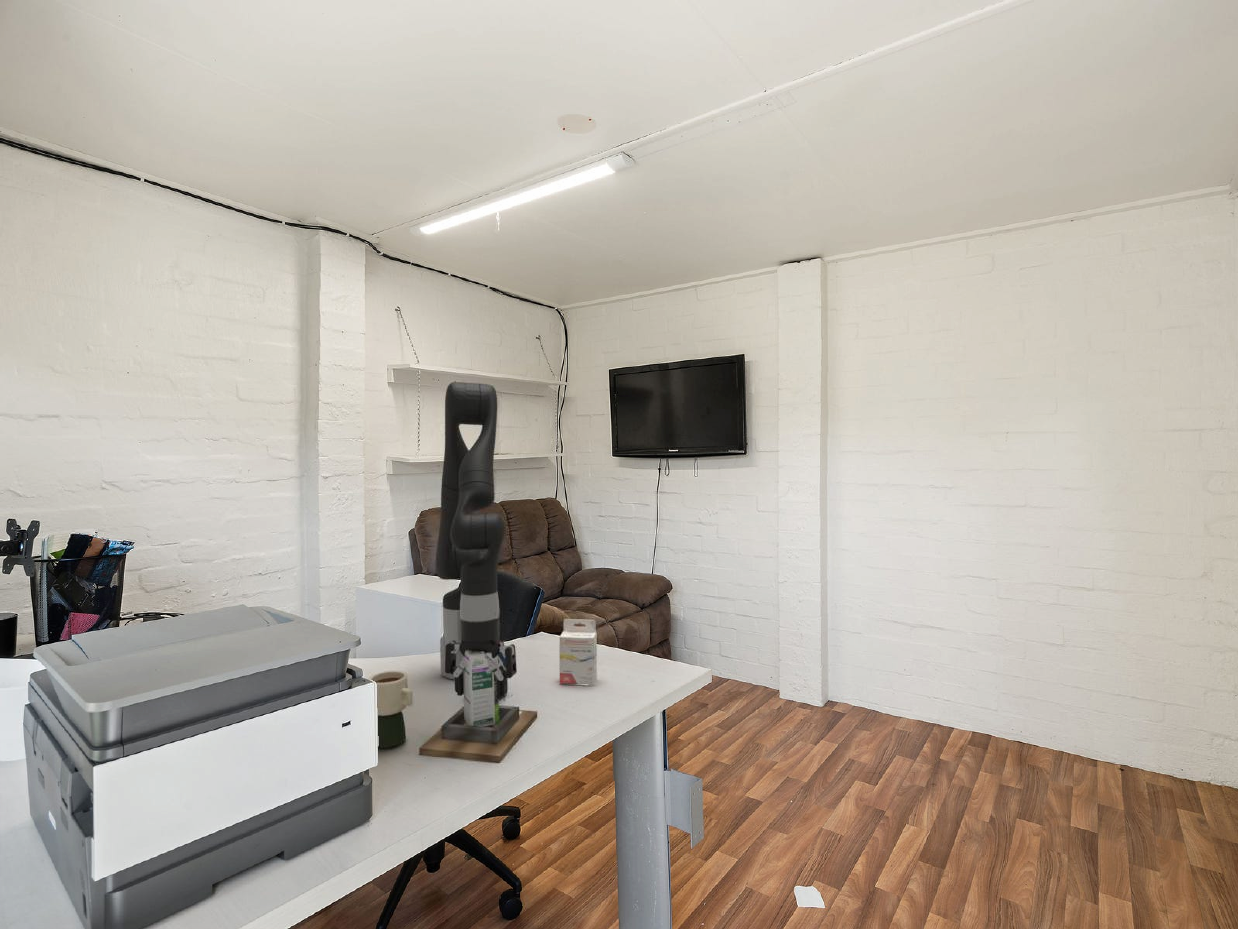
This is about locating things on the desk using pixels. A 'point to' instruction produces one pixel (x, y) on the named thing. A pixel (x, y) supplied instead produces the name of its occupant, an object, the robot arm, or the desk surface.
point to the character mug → (391, 706)
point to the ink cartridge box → (578, 652)
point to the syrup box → (480, 690)
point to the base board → (479, 736)
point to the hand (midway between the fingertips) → (481, 696)
